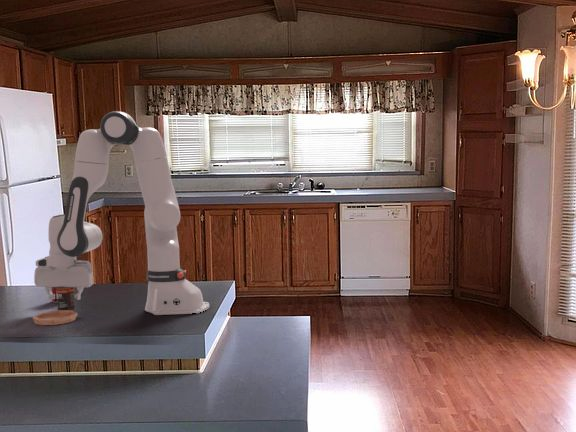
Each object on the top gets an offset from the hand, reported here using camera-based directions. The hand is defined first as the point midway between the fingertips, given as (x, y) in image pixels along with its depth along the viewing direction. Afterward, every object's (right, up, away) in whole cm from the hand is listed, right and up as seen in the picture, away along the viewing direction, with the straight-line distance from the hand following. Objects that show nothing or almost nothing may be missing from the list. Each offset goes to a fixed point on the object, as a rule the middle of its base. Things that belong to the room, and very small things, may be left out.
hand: (64, 299), depth 213 cm
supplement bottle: (0, -5, +1) cm, 5 cm away
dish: (+1, -5, -11) cm, 12 cm away
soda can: (-8, -3, +18) cm, 20 cm away
